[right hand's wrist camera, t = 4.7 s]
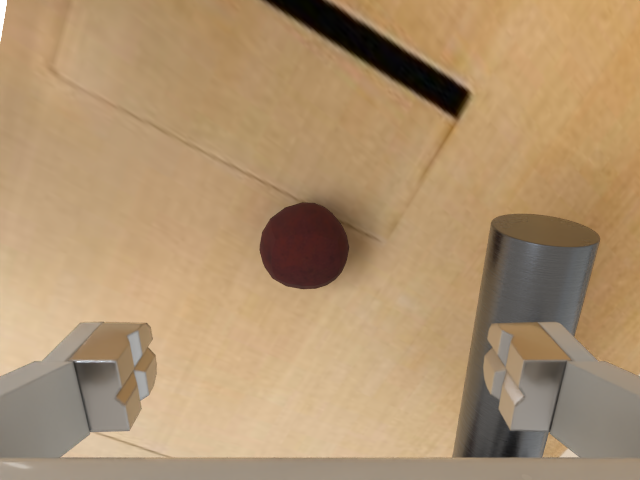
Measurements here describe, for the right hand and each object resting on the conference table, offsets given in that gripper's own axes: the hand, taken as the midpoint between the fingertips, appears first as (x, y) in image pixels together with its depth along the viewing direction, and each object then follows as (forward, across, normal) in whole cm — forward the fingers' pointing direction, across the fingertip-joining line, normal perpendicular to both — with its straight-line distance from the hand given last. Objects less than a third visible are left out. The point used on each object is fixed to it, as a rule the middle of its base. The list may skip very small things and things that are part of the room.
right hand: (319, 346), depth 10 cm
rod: (+20, -14, +16) cm, 29 cm away
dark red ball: (+30, +1, +7) cm, 31 cm away
